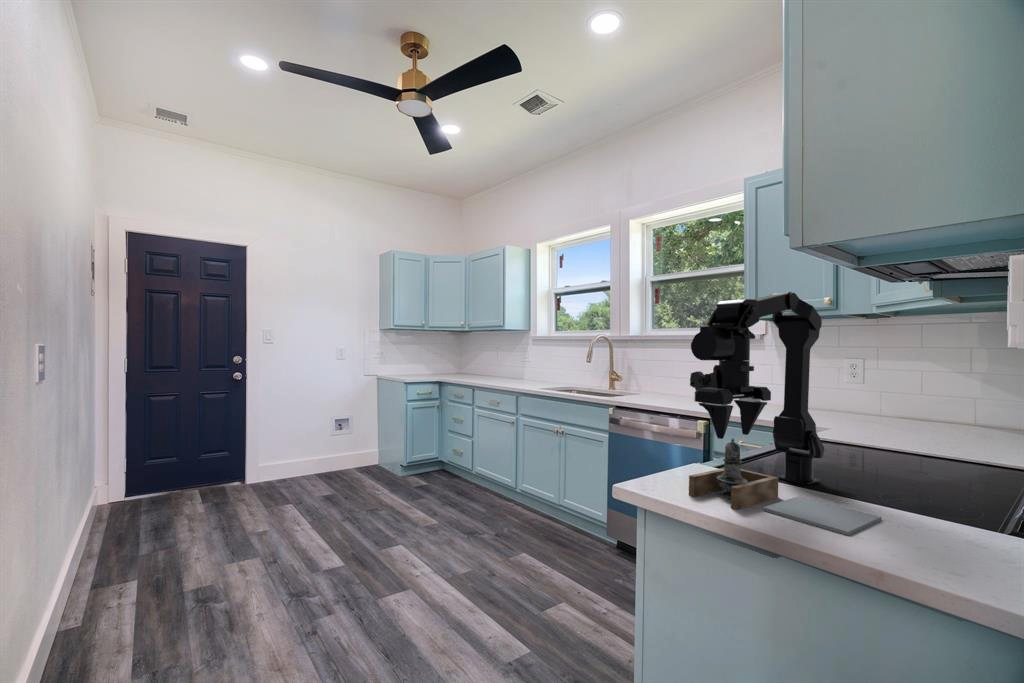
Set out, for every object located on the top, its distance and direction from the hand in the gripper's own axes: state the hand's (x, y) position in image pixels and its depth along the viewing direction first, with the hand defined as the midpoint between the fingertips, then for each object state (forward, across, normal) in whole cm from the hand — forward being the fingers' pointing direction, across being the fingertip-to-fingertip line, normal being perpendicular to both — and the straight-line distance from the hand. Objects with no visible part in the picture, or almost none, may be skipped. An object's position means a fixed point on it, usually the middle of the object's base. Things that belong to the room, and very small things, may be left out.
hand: (733, 436), depth 98 cm
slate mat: (+12, -4, +15) cm, 20 cm away
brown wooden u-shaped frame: (+12, 0, 0) cm, 12 cm away
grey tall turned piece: (+12, 0, 0) cm, 13 cm away
